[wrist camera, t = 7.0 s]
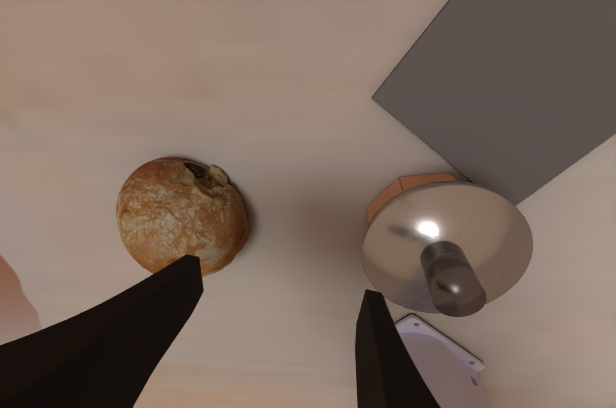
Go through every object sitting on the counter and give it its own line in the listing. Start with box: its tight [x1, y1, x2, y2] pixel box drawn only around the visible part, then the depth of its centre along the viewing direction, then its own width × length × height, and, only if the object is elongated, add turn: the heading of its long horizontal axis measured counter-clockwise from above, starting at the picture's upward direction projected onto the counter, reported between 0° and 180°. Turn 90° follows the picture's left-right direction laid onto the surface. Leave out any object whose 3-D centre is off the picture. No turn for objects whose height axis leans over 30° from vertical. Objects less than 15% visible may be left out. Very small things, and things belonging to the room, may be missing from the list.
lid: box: [362, 181, 533, 317], centre depth 15 cm, size 9×9×4 cm
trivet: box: [372, 0, 616, 206], centre depth 15 cm, size 12×12×1 cm
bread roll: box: [116, 158, 248, 277], centre depth 22 cm, size 10×10×8 cm
